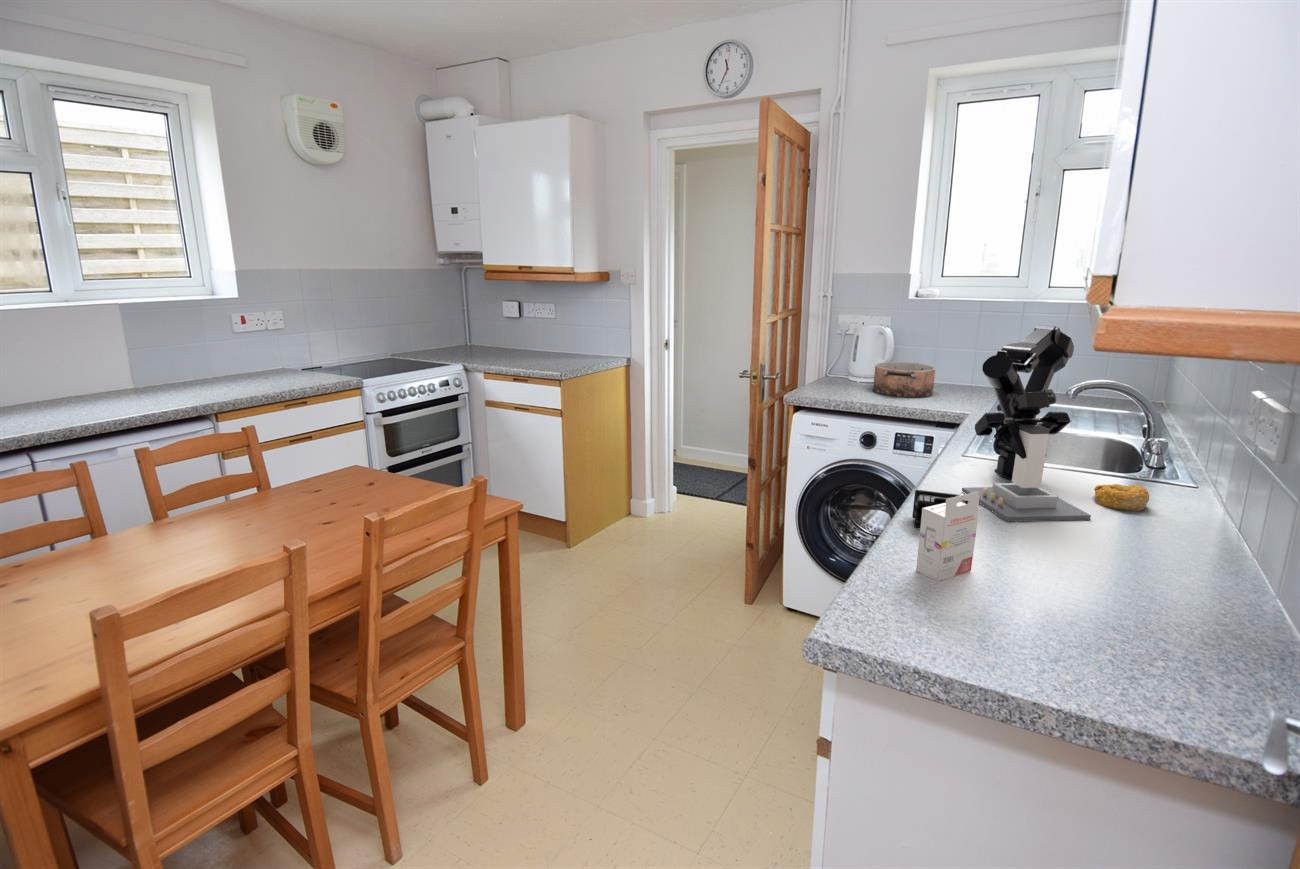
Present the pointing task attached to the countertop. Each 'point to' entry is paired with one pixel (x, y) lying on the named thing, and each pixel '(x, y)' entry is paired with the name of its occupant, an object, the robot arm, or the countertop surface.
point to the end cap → (928, 502)
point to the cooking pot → (904, 379)
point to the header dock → (1026, 503)
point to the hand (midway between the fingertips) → (1034, 457)
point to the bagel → (1122, 496)
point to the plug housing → (1031, 456)
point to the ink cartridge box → (948, 537)
